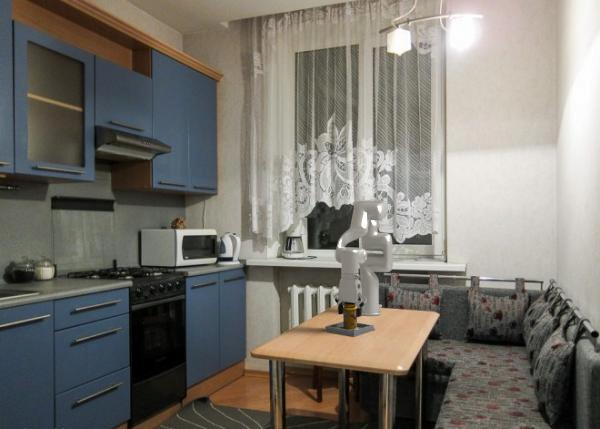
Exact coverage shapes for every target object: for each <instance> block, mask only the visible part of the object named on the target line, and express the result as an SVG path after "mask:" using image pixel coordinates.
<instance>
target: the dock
mask: <svg viewBox="0 0 600 429" xmlns="http://www.w3.org/2000/svg"><path fill="white" fill-rule="evenodd" d="M374 326H375V325H374V324H369V323H368V324H367V323H362V322H357V328H358V329H357V330H347V329H341V328H338V327H344V326H343V321H340V322H336V323H333V324H332V323H331V324H329V325H325V329H323V332H326V333H330V334H331V333H332V334H337V335H343V336H349V337H354V338H355V337H358V336H361V335H363V334H367V333H370V332H373V331H375V330H376V328H374Z"/></svg>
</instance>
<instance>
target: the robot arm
mask: <svg viewBox="0 0 600 429" xmlns="http://www.w3.org/2000/svg"><path fill="white" fill-rule="evenodd" d="M388 212H389V205H388V203H387V201H385V200H377V199H376V200H370V199H369V200H368V199H367V200H357V201H355V202H354V204H353V211H352V216H351V222H350V226H349V229H347V230H346V231H344V233H343V234H341V236H340V237H339V238H338V240H337V245H336V250H335V254H334V255H335V256H334V257H335V260H336V262H337V263H339V264H341V267H340V268H341V271H340V273H341V278H340V280H339V284H338V292H336V293H334V294H333V295H332V296H333V298H334V301H335V303H336V305H337V313H338V315H339V316H340V315H342V314H343V308H344V302H349V303H355V304H356V317H357V318H360V317H362V316H369V317H370V316H371V317H372V316H381V315H382V313H383V312H382V311H381V310H380V309H381V308H382V307H383V305H382V304H380V303H379V302H380V301H379V300H380V294H379V292H380V289H379V288H380V284H379V283H380V281H379V280H380V279H379V277H378V276H377V274H376V273H377V272H378V273H389V272H391V271H392V270H393V264H394V262H393V261H394V260H393V257H394V256H393V254H394V253H393V239H392V235H391V234H390V233H387V232H379V231H378V230H379V229H378V221H382V220H384V219H385V218H386V216H387V215H388ZM360 238H361V242H360V243H361V247H354V246H353V247H349V246H348V247H346V246H347V245H348V244H349V243H351V242H353V241H355V240H359V239H360ZM367 251H369V252H367ZM373 252H374V253H373ZM375 252H382V253H375ZM359 273H360V274H359Z"/></svg>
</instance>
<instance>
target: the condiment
mask: <svg viewBox="0 0 600 429" xmlns="http://www.w3.org/2000/svg"><path fill="white" fill-rule="evenodd" d="M356 308H357V306H356V304H355V303H349V302H343V317H342V319H343V321H342V322H343V326H344V327H338V328H341V329H347V330H357V329H358V328H357V323H358V317H356Z"/></svg>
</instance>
